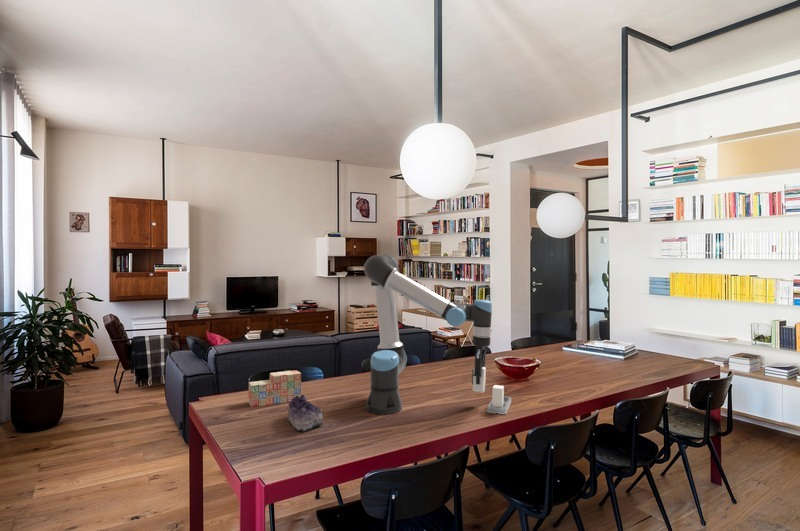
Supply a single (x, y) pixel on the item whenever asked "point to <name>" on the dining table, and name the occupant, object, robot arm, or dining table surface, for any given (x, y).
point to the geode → (304, 414)
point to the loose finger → (482, 379)
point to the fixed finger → (498, 396)
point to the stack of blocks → (275, 389)
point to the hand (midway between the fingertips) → (478, 389)
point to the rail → (497, 409)
